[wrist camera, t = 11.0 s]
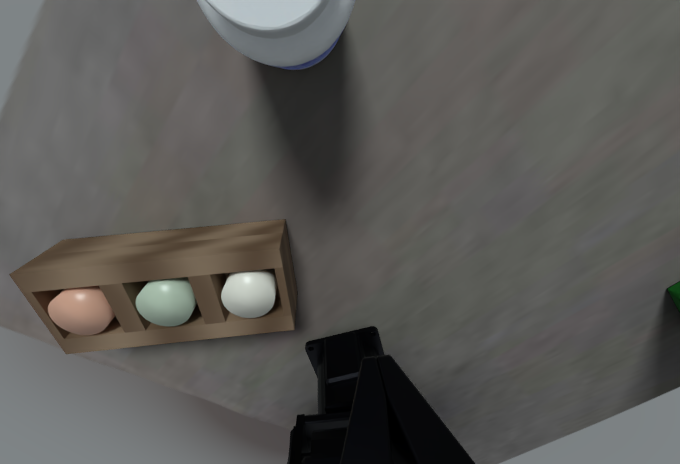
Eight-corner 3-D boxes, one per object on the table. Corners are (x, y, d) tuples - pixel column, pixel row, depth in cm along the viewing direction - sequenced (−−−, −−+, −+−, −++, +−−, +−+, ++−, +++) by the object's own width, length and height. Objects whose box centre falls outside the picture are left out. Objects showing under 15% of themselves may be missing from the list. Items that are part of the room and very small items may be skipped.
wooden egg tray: (285, 219, 21) (279, 248, 17) (297, 291, 24) (294, 329, 20) (62, 239, 20) (9, 274, 17) (103, 311, 23) (66, 354, 20)
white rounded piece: (274, 255, 20) (269, 274, 18) (281, 293, 21) (278, 315, 19) (225, 259, 20) (215, 280, 18) (236, 297, 21) (228, 320, 19)
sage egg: (195, 262, 19) (182, 283, 18) (209, 300, 21) (198, 323, 19) (145, 267, 19) (126, 288, 17) (162, 305, 21) (147, 328, 19)
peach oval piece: (115, 270, 19) (93, 292, 17) (135, 308, 21) (116, 332, 19) (65, 275, 19) (36, 297, 17) (87, 313, 21) (64, 337, 19)
